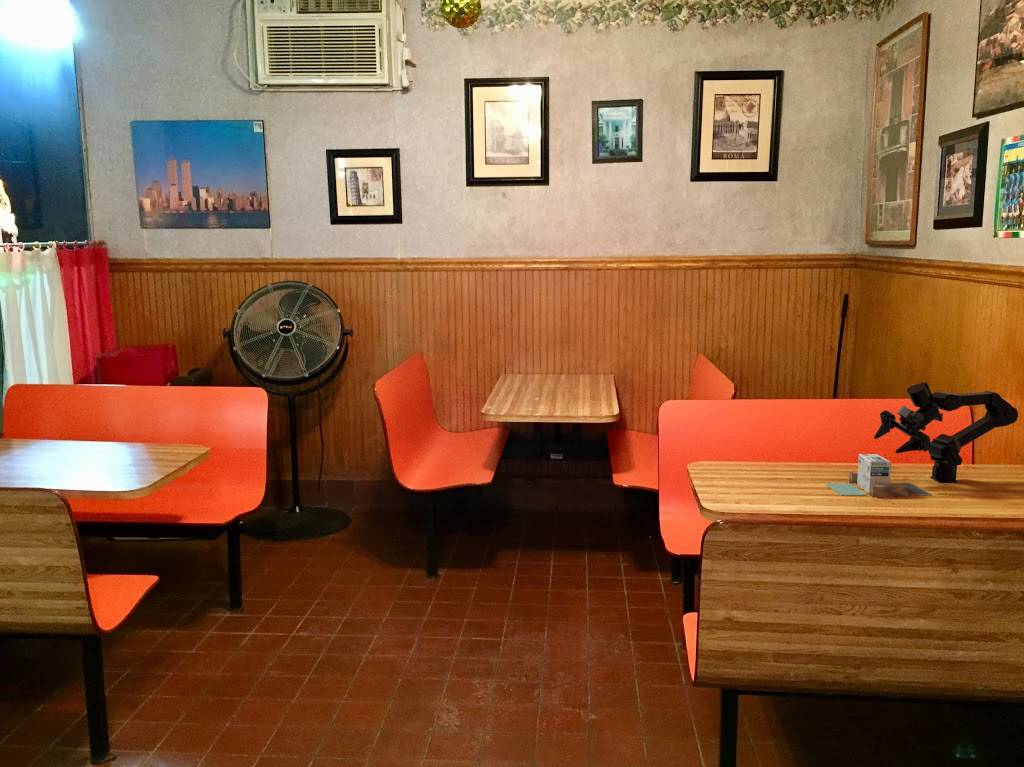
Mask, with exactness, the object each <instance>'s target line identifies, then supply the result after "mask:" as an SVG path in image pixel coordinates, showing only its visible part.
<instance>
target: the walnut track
mask: <svg viewBox="0 0 1024 767" xmlns="http://www.w3.org/2000/svg"><path fill="white" fill-rule="evenodd" d="M848 474H849V475H848V476H849V477H848V483H849V482H850V483H849V484H851V483H857V478H858V471H849V473H848ZM907 494H908V486H906V485H871V487H870V494H869V496H870V497H871V496H872V497H871V498H873V497H880V498H908V495H907Z"/></svg>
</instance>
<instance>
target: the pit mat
mask: <svg viewBox="0 0 1024 767" xmlns="http://www.w3.org/2000/svg"><path fill="white" fill-rule="evenodd" d="M890 485H906V486H908V494H907V496H933V493H930V492H929V491H926V490H925V489H923V488H921V487H919V486H918V485H916V484H914V483H912V482H890Z"/></svg>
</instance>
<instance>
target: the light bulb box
mask: <svg viewBox="0 0 1024 767" xmlns="http://www.w3.org/2000/svg"><path fill="white" fill-rule="evenodd" d="M891 469H892V461H890V460H889V459H886V458H885V457H883V456H881V455H880V454H878V453H877V454H876V453H875V454H873V453H871V454H870V453H859V454H858V465H857V472H858V478H857V484H856V485H857V486H858V487H859V486H860V487H859V488H861V489H862V490H863V489H864V491H865V492H866V493H867V492H868V493H867V494H869V495H870V487H871V485H890V483H891V471H892V470H891Z"/></svg>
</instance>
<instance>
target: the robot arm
mask: <svg viewBox="0 0 1024 767" xmlns="http://www.w3.org/2000/svg"><path fill="white" fill-rule="evenodd" d="M906 393H907V396H909V399H910V400H911V403H912V405H913V406H914V407H917V408H918V409H916V410H915V411H914V410H912V409H910V408H909V407H907V406H905V405H902V406H901V408H899V410H898V411H897V412H896V414H897V415H899V418H898V419H899V421H900V422H899V421H897V420H896V415H895V414H894V413H892V412H890V411H888V410H887V409H886V410H882V412H880V413H879V418H880V423H881V424H880V426H879V427H878V430H877V432H876V433H875V435H874V436H873V438H874V440H877V439H879V438H881V437H882V436H885V435H886V434H888V433H890V432H891V430H893V429H897V430H899V431H901V432H902V433H904V434H905V435H907V436H908V437H910V439H909V440H907V441H906V442H904V443H903V444H902V445H901V446H900V447H898V448H897V449H896V450H895V454H901V453H906V452H914V451H919V452H924V453H927V451H928V454H929V456H930V460H931V461H933V462H934V463H933V465H932V468H931V469H932V470H931V475H930V479H932V480H934V481H936V482H938V483H945V484H946V483H949V484H950V483H959V482H960V481H959V480H957V473H958V472H957V470H958V467H959V466H961V465H962V463H963V461H964V460H963V459H964V458H962V457H961V456H960V453H961V450H962V448H963V447H965V446H967V445H968V444H970V443H972V442H974V441H975V440H977V439H979V438H980V437H982V436H984V435H985V434H987V433H989V432H990V431H992V430H994V429H996V428H1001V427H1003V428H1004V427H1007V426H1011V425H1013V424H1014V423H1016V422H1017V421H1018V417H1019V412H1018V410H1017V408H1016V407H1015V406H1013V405H1012V404H1010V403H1009V402H1008V401H1007V400H1006V399H1004V398H1003V397H1002V396H1001V395H1000V394H999V393H997V392H994V391H991V390H985V391H977V392H976V391H975V392H966V393H965V392H964V393H951V392H946V391H935V392H933V393H932V392H931V389H930V386H929V384H928V382H925V381H922V382H921V383H916V384H913V385H911V386H909V387H908V388H907V389H906ZM981 405H984V408H985V410H986V411H985V414H984V416H983V417H981V418H980V419H977V420H976V421H975V422H973V423H971V424H970V425H968V426H965V427H964V428H963V429H961V430H959V431H957V432H955V433H954V434H953V435H948V434H945V433H941V434H939V435H938V436H936V437H935V438H932V440H931V438H930V436H929V435H928V434H927V433H925V432H923V431H926V427H927V426H928V425H929V424H931V423H932V422H933V421H937V422H940V423H941V422H943V419H944V418H943V417H944V414H943V413H941V412H940V410H941V411H945V412H953V411H956V410H959V409H960V408H962V407H968V406H981Z"/></svg>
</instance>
